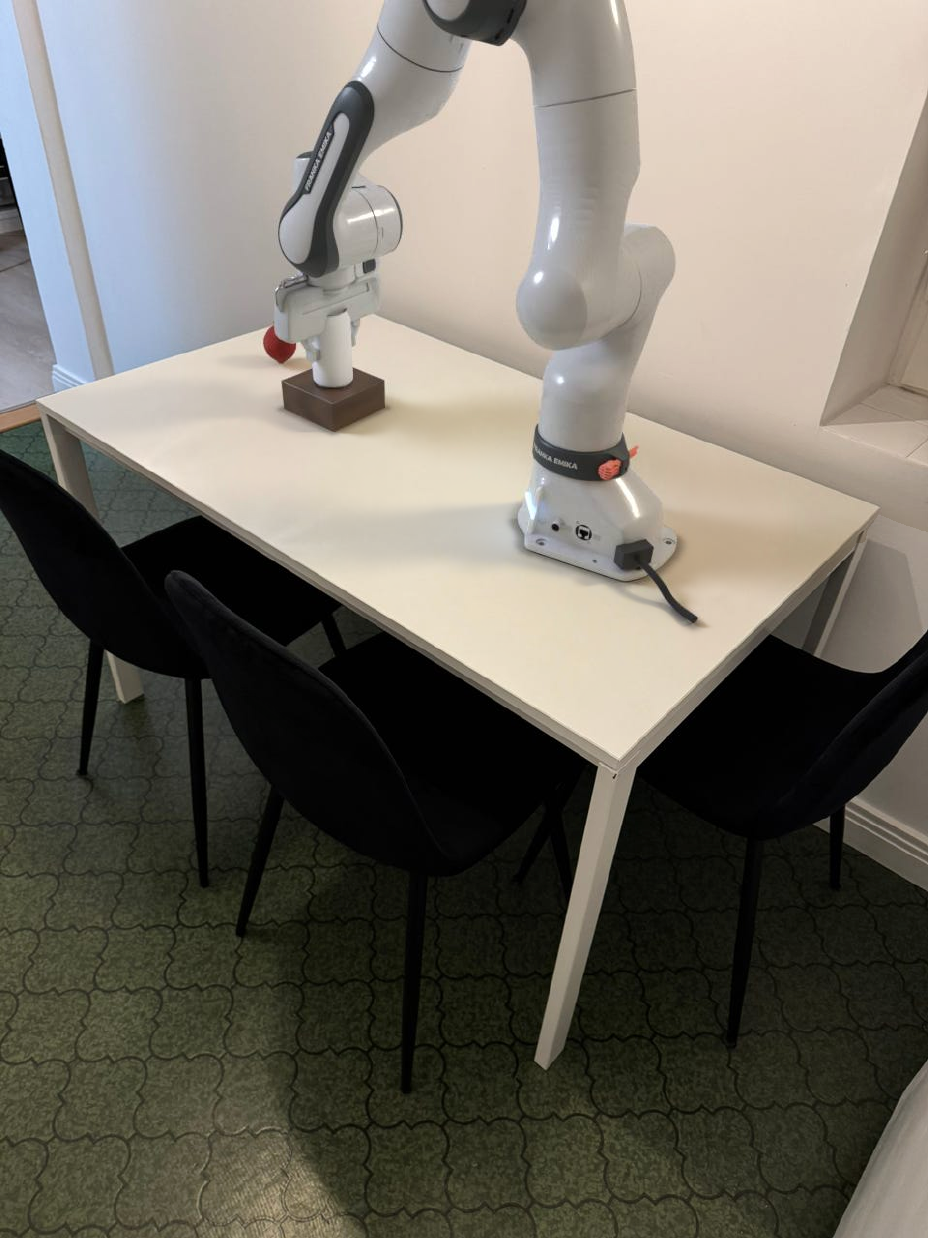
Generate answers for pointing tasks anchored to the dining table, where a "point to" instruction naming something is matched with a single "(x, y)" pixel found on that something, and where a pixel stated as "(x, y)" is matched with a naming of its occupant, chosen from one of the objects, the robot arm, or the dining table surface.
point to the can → (334, 353)
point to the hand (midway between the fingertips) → (331, 353)
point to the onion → (277, 346)
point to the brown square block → (333, 399)
